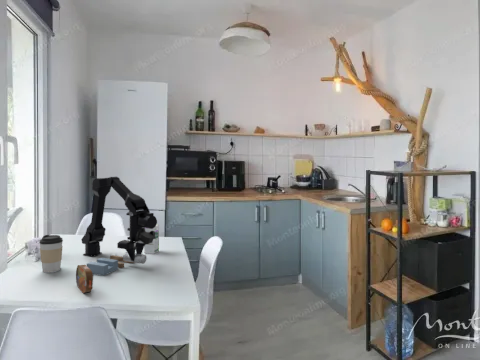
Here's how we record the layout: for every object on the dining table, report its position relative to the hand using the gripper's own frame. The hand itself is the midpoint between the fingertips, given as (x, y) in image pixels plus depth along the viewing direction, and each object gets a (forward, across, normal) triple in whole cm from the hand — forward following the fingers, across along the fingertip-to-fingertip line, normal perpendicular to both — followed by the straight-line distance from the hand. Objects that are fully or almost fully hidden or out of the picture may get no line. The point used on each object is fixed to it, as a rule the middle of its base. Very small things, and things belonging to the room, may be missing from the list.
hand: (135, 259), depth 156 cm
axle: (-1, 0, +1) cm, 1 cm away
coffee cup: (+4, -18, +30) cm, 35 cm away
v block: (+3, -10, +10) cm, 15 cm away
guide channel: (+3, 0, +10) cm, 11 cm away
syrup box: (+4, +22, +7) cm, 24 cm away
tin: (+4, -29, +2) cm, 29 cm away
